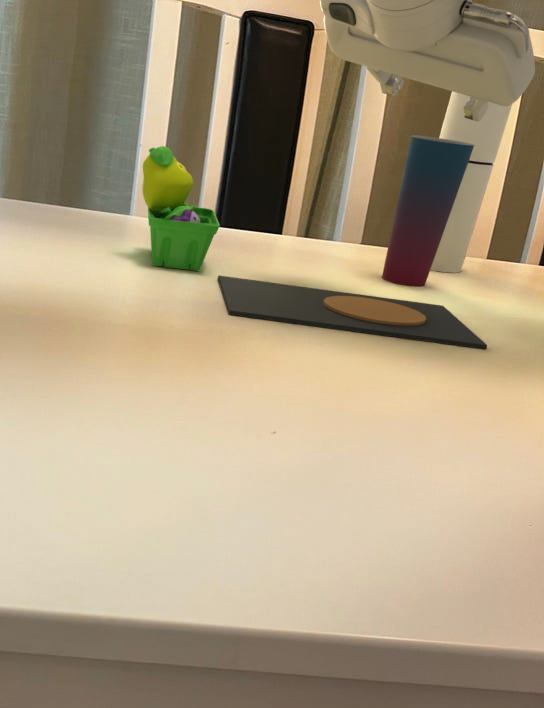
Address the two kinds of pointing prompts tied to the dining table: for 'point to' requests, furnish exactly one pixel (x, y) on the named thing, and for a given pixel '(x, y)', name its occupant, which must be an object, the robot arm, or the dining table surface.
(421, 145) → the cup
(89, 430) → the dining table surface
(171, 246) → the fruit basket
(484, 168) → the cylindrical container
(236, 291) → the placemat
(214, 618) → the dining table surface
